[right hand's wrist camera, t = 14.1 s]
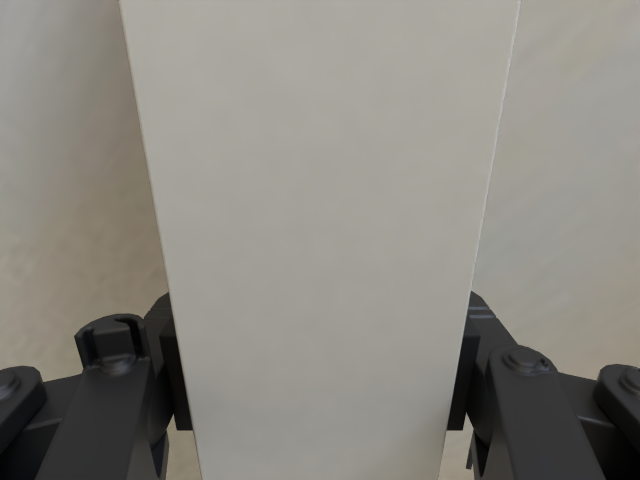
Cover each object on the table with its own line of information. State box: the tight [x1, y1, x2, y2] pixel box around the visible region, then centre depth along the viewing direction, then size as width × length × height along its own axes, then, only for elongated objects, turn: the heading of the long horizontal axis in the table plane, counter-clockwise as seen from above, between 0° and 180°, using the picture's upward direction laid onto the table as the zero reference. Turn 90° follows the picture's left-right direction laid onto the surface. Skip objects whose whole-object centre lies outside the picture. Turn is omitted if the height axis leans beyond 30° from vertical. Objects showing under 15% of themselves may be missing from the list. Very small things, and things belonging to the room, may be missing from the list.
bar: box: [118, 0, 521, 480], centre depth 9 cm, size 22×5×8 cm, turn 0°
